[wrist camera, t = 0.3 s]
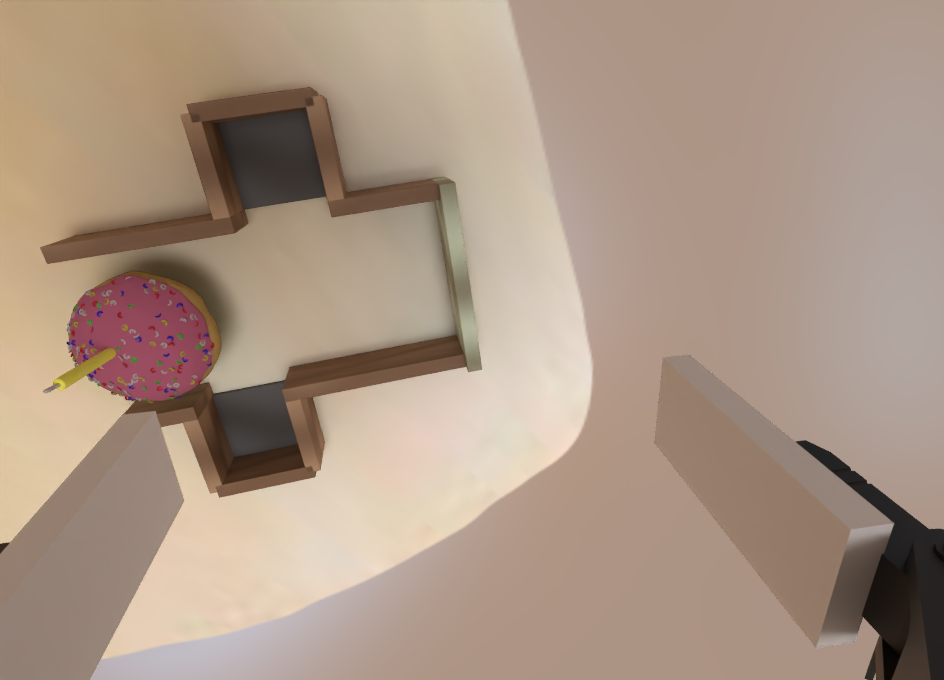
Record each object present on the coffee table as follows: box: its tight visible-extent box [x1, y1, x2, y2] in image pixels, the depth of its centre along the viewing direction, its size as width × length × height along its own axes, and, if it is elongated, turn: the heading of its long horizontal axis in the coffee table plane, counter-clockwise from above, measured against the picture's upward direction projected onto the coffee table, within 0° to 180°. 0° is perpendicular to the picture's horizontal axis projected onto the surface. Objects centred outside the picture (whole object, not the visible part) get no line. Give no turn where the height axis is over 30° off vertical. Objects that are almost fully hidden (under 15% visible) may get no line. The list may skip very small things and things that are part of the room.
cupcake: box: [43, 271, 221, 403], centre depth 33 cm, size 9×8×12 cm
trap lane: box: [40, 87, 482, 498], centre depth 37 cm, size 26×25×5 cm
